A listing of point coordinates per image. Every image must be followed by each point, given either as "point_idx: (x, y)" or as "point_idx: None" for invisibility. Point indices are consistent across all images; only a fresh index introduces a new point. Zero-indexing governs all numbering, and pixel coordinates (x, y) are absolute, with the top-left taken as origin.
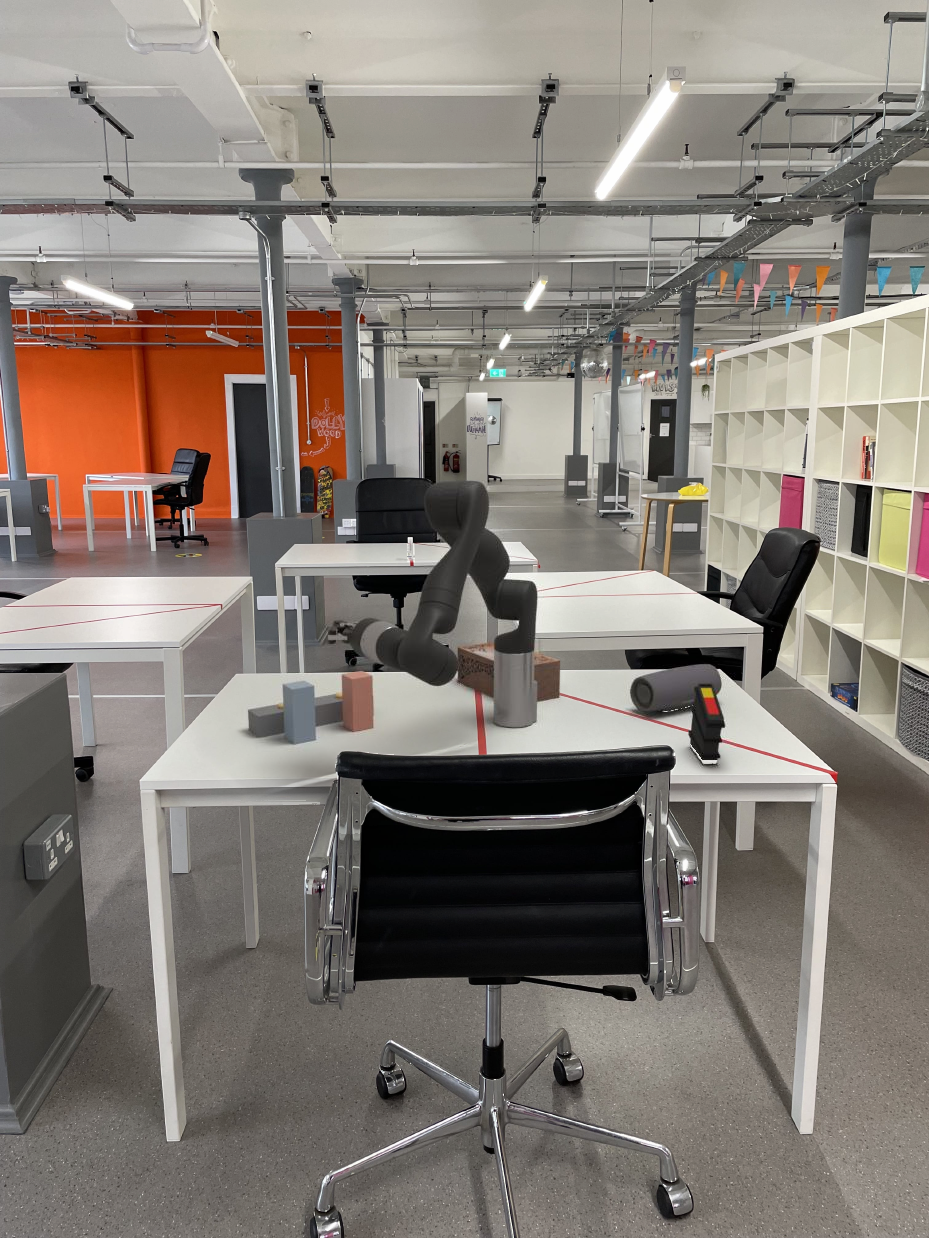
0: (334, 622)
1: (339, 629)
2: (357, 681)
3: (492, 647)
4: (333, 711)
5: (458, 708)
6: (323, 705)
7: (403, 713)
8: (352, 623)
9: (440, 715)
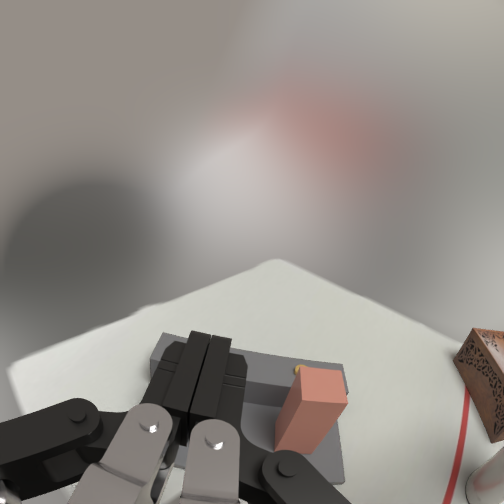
0: (190, 339)
1: (88, 451)
2: (311, 405)
3: (501, 343)
4: (275, 394)
5: (442, 427)
6: (260, 383)
7: (378, 414)
8: (208, 463)
9: (418, 441)
